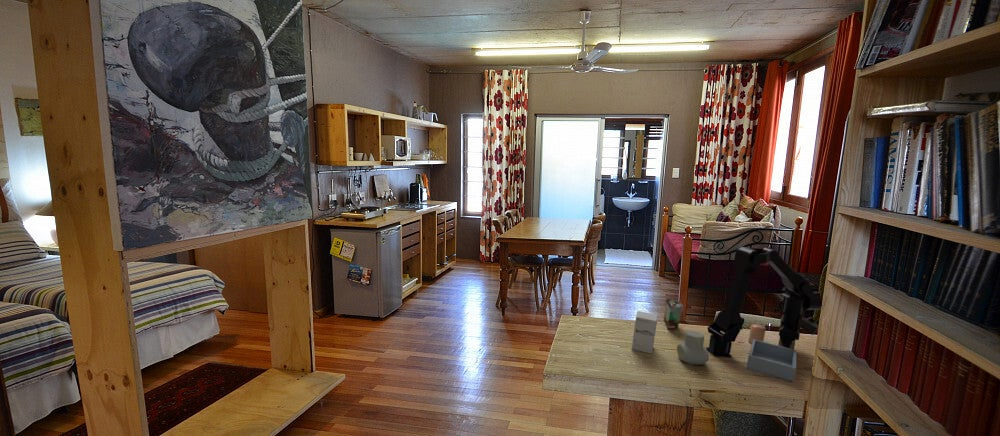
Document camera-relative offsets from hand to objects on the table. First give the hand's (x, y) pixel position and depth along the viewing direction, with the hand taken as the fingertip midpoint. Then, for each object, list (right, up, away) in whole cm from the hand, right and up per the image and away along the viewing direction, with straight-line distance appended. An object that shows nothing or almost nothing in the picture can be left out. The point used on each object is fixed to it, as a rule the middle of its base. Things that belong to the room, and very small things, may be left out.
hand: (785, 348), depth 171 cm
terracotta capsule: (-8, 0, +5) cm, 10 cm away
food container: (-36, +4, +17) cm, 40 cm away
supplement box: (-56, +2, -6) cm, 57 cm away
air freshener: (-42, -1, -14) cm, 44 cm away
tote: (-14, -2, -14) cm, 19 cm away
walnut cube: (0, -1, 0) cm, 1 cm away
